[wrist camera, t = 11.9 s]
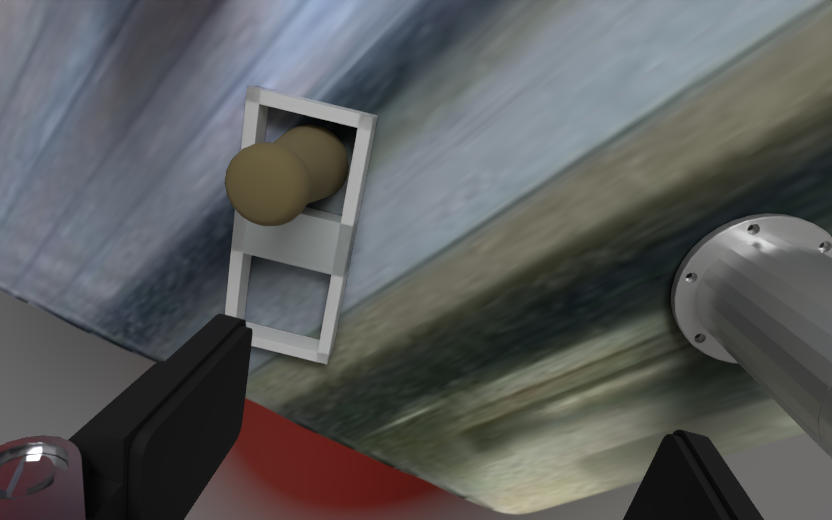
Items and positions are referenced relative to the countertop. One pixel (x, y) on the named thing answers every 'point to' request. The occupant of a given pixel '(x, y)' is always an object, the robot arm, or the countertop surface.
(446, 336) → the countertop surface
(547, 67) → the countertop surface
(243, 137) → the socket frame
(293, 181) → the cork
